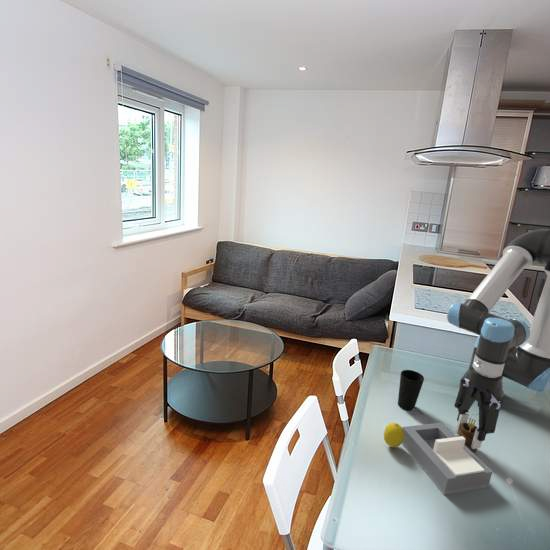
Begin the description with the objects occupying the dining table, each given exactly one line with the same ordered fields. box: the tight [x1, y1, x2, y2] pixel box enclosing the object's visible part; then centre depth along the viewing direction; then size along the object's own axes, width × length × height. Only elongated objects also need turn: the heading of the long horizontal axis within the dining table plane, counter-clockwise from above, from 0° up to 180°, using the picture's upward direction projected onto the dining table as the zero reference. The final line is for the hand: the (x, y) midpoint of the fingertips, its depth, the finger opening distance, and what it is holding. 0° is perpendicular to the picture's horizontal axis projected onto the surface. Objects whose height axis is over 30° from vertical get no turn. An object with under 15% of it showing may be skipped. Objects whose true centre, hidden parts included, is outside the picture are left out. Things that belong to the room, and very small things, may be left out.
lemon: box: [383, 422, 404, 448], centre depth 112 cm, size 6×6×8 cm
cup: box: [397, 369, 425, 412], centre depth 133 cm, size 8×8×12 cm
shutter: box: [433, 436, 485, 476], centre depth 102 cm, size 9×9×4 cm
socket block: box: [401, 422, 493, 496], centre depth 108 cm, size 14×20×5 cm
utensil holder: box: [456, 412, 479, 454], centre depth 114 cm, size 6×6×12 cm
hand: (467, 439), depth 115 cm, fingers closed on utensil holder, 6 cm apart
